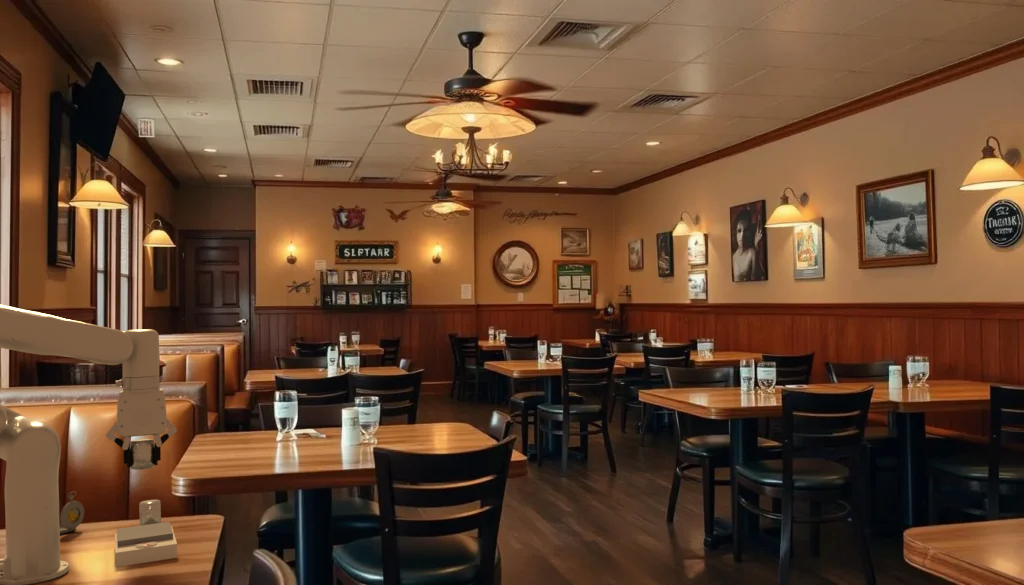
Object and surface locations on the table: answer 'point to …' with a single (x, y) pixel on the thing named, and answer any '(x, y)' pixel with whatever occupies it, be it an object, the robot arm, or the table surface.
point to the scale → (145, 544)
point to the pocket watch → (71, 515)
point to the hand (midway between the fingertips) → (142, 464)
